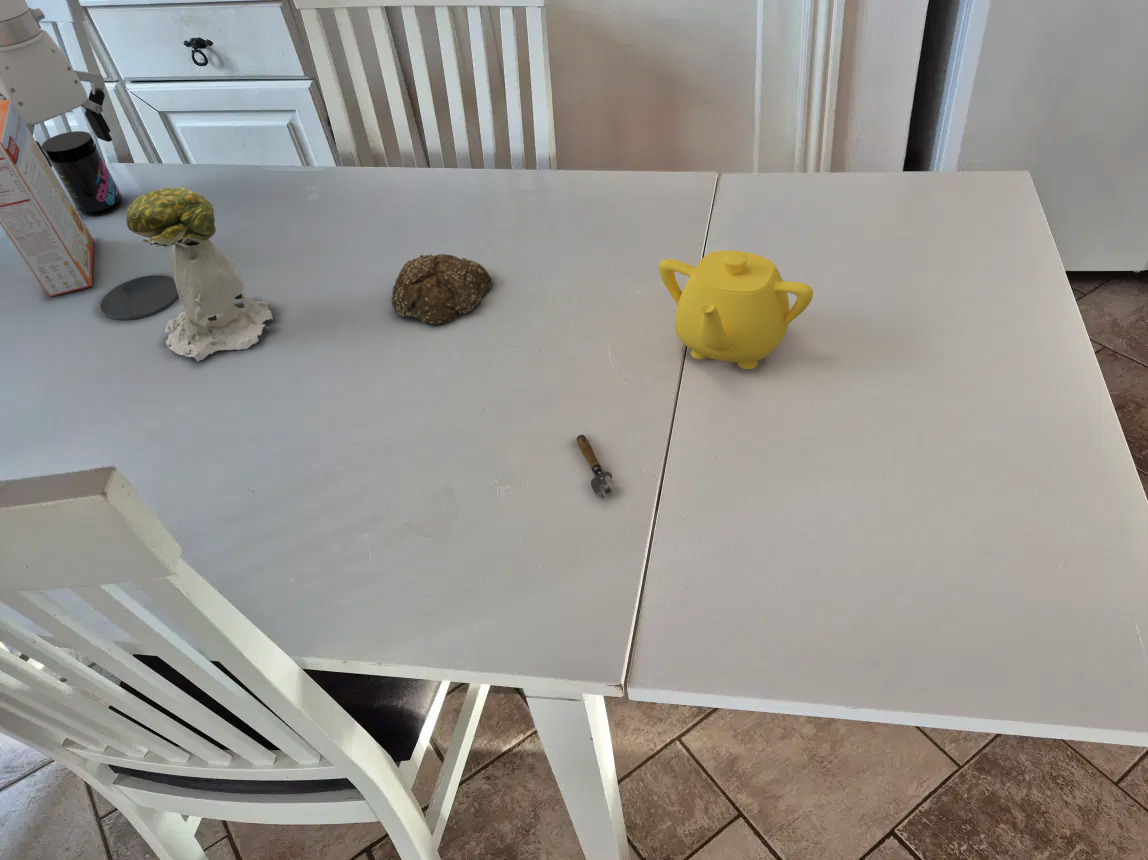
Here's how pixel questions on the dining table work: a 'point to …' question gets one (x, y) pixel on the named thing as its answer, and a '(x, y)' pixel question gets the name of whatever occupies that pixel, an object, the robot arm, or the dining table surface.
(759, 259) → the teapot
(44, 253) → the cracker box
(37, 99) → the robot arm
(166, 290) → the coaster
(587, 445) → the can opener
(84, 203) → the supplement container
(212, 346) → the frog
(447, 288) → the bread roll
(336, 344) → the dining table surface
